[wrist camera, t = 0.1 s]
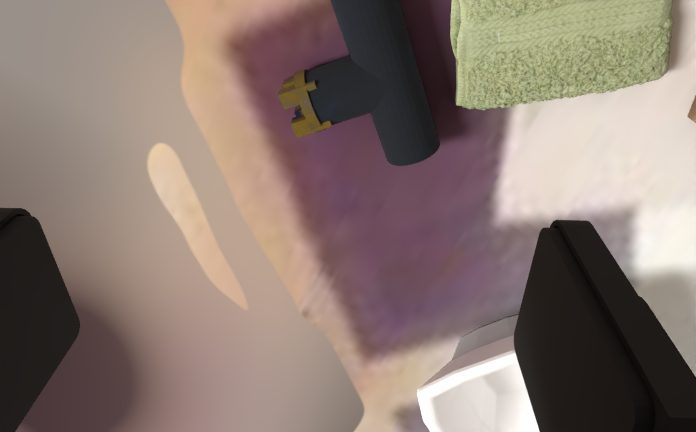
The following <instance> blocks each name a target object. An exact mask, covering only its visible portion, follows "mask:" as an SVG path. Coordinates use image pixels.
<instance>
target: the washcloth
mask: <svg viewBox="0 0 696 432" xmlns="http://www.w3.org/2000/svg"><path fill="white" fill-rule="evenodd" d="M672 1H673V0H452V5H451V23H450V26H451V29H450V38H451V44H452V49H453V52H454V55H455V58H456V105H457V106H463V107H466V108H468V109H474V108H476V109H480V110H486V109H488V108H489V109H490V108H496V109H497V107H501V108H504V107H513V106H515V105H516V104H518V103H522V104H525V103H529V104H530V103H531V102H532V101H544V100H546V101H547V100H552V99H555V98H559V99H562V98H564V97H568V98H570V97H577V96H578V95H579V96H581V95H582V94H583V95H586V94H587V93H605V92H606V91H608V90H609V91H610V92H612V91H616V90H617V89H619V88H625V87H628V86H633V85H635V84H640V85H641V84H644V83H645V82H650V81H653V80H658V79H659V78H661V77H662V76H663V75H664V74H666V73H667V70H668V65H669V62H668V61H669V53H670V50H669V49H670V44H669V40H670V38H671V33H670V32H671V29H672V26H673V23H674V22H673V18H672V17H671V15H670V11H671V8H672Z"/></svg>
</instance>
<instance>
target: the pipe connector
mask: <svg viewBox="0 0 696 432" xmlns="http://www.w3.org/2000/svg"><path fill="white" fill-rule="evenodd" d="M331 3H332V6H333V9H334V11H335V14H336V17H337V20H338V23H339V25H340V28H341V31H342V34H343V37H344V40H345V42H346V45H347V48H348V51H349V54H350V56H347V57H344V58H341V59H339V60H336V61H333V62H330V63H328V64H325V65H322V66H319V67H316V68H314V69H311V70H303V71H300V72H297V73H295V74H294V77H291V78H288V79H285V80H284V82H283V84H282V85H283V88H284V89H281V90H280V92H279V94H278V96H279V99H280V101H281V103H282V105H283V107H284V110H286V109H289V108H292V107H294V106H297V105H300V106H298V107H296V109H295V112H294V113H295V115H296V117H295V118H293V119H292V122H291V125H292V127H293V130H294V132H295V134H296V136H297V138H298V137H301V136H304V135H307V134H310V133H313V132H318V131H321V130H324V129H326V128H328V127H331V126H332V125H334V124H337V123H340V122H343V121H346V120H349V119H352V118H355V117H358V116H361V115H364V114H367V113H371V116H372V118H373V121H374V124H375V127H376V130H377V132H378V135H379V138H380V141H381V144H382V147H383V149H384V152H385V155H386V158H387V161H388V162H389V163H390V164H392V165H397V166H404V165H411V164H414V163H418V162H420V161H423V160H425V159H427V158H428V157H430V156H431V155H433V154H434V153H435V152H436V151H437V150H438V148H439V146H440V142H439V139H438V135H437V132H436V128H435V125H434V121H433V118H432V114H431V111H430V107H429V104H428V100H427V97H426V93H425V90H424V86H423V83H422V79H421V76H420V73H419V69H418V66H417V62H416V59H415V55H414V52H413V48H412V45H411V41H410V38H409V34H408V31H407V27H406V24H405V20H404V17H403V13H402V10H401V6H400V3H399V0H331Z"/></svg>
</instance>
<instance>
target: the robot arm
mask: <svg viewBox="0 0 696 432" xmlns="http://www.w3.org/2000/svg"><path fill="white" fill-rule="evenodd" d="M79 328H80V321H79V318H78V315H77V313H76V311H75V308H74V306H73V303H72V301H71V298H70V296H69V293H68V291H67V288H66V286H65V284H64V281H63V279H62V276H61V274H60V272H59V269H58V267H57V264H56V262H55V259H54V257H53V254H52V252H51V249H50V247H49V245H48V242H47V239H46V237H45V235H44V232H43V230H42V228H41V225H40V223H39V221H38V220H37V219H36V218H35V217H32V216H31V215H30V213H29V212H27V211H26V210H25V209H22V208H0V432H15V431H16V430H17V428H18V426H19V425H20V423H21V422H22V420H23V419H24V417H25V416H26V414H27V413H28V411H29V410H30V408H31V407H32V405H33V403H34V402H35V400H36V399H37V397H38V396H39V394H40V393H41V391H42V390H43V388H44V387H45V385H46V384H47V382H48V381H49V379H50V378H51V376H52V375H53V373H54V372H55V370H56V369H57V367H58V365H59V364H60V362H61V361H62V359H63V358H64V356H65V355H66V353H67V352H68V350H69V349H70V347H71V346H72V344H73V343H74V341H75V340H76V338H77V336H78V333H79ZM514 349H515V353H516V356H517V360H518V363H519V366H520V370H521V373H522V376H523V379H524V383H525V386H526V389H527V392H528V396H529V399H530V402H531V405H532V409H533V412H534V415H535V418H536V422H537V425H538V428H539V431H540V432H696V377H695V376H694V374H693V373H692V371H691V369H690V368H689V366H688V365H687V363H686V362H685V360H684V359H683V357H682V356H681V354H680V353H679V351H678V350H677V348H676V347H675V345H674V344H673V342H672V341H671V339H670V338H669V336H668V335H667V333H666V332H665V330H664V329H663V327H662V325H661V324H660V322H659V321H658V319H657V318H656V316H655V315H654V313H653V312H652V310H651V309H650V307H649V306H648V304H647V303H646V302H645V301H644V300H643V299H642V297H640V296H638V294H637V293H636V291H635V290H634V288H633V287H632V285H631V284H630V282H629V281H628V279H627V278H626V276H625V274H624V273H623V271H622V270H621V268H620V267H619V265H618V264H617V262H616V261H615V259H614V258H613V256H612V254H611V253H610V251H609V250H608V248H607V247H606V245H605V244H604V242H603V241H602V239H601V238H600V236H599V235H598V233H597V231H596V230H595V228H594V227H593V225H592V224H591V223H590V222H589V221H574V220H555V221H553V223H552V224H551V226H550V228H543V229H542V230H541V231H540V234H539V238H538V242H537V245H536V249H535V253H534V257H533V261H532V265H531V269H530V273H529V277H528V280H527V284H526V288H525V292H524V296H523V300H522V304H521V308H520V312H519V315H518V319H517V323H516V327H515V331H514Z"/></svg>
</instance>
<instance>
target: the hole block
mask: <svg viewBox="0 0 696 432" xmlns="http://www.w3.org/2000/svg"><path fill="white" fill-rule="evenodd" d="M688 117H689V118H690V119H691V120H693V121H694V122H695V123H696V96H695V99H694V101H693V104H692V107H691V109H690V112H689V114H688Z"/></svg>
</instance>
